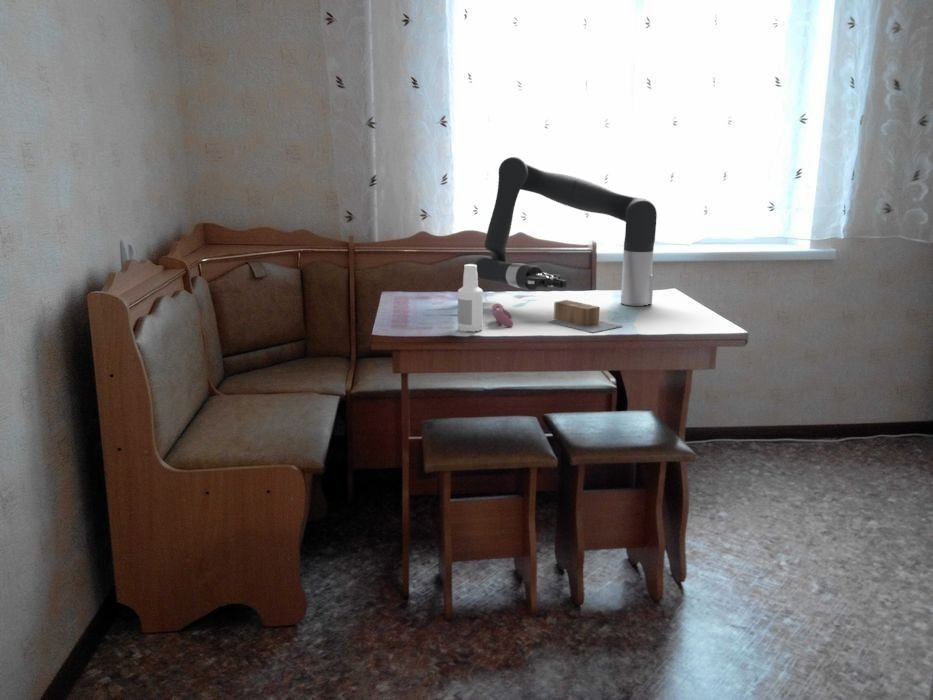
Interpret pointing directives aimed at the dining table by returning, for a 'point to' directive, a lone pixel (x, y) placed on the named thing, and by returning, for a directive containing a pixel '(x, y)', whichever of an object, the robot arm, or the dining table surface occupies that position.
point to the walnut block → (576, 313)
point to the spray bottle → (470, 301)
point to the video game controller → (502, 315)
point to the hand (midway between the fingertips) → (564, 284)
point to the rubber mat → (593, 328)
